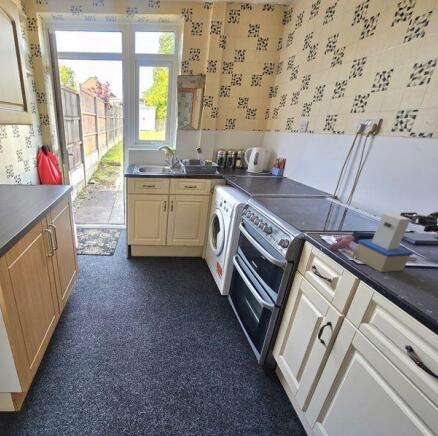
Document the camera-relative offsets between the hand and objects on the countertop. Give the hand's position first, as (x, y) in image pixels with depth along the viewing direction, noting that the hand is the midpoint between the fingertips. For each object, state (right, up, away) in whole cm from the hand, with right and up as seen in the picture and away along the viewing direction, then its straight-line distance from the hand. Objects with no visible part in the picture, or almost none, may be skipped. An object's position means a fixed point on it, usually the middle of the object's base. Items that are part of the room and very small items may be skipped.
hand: (410, 223), depth 83 cm
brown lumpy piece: (-12, -10, +15) cm, 22 cm away
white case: (-7, -8, +2) cm, 11 cm away
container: (-7, -14, +4) cm, 17 cm away
